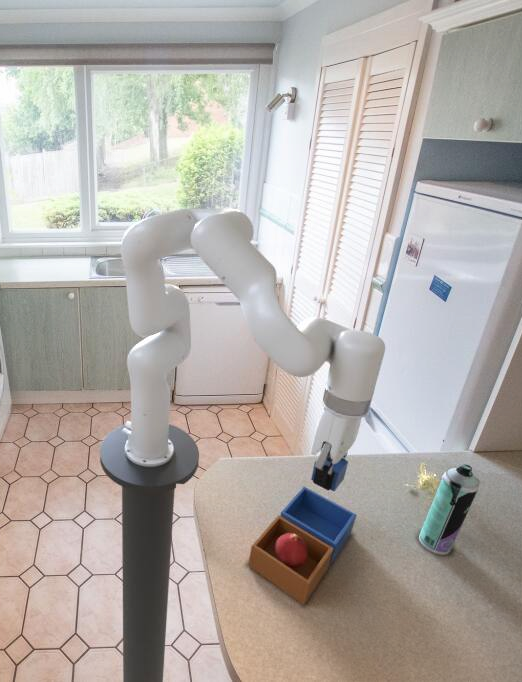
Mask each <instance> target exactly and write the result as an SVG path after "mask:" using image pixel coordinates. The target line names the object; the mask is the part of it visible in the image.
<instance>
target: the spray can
mask: <svg viewBox="0 0 522 682" xmlns="http://www.w3.org/2000/svg"><path fill="white" fill-rule="evenodd" d="M441 479H442V480H440V481H439V482H440V485H439V487H438V490H437V489H436V490H437V492H436V493H435V495H434V500H433V502H432V501H431V503H432V504H431V506H430V508H429V510H428V512H427V515H426V518H425V520H424V522H423V525H422V528H421V530H420V532H419V536H418V539H419V542H420V544H421V545H422V547H424V548H425V549H426V550H428V552H431V553H434V554H436V555H440V556H443V555H444V556H445V555H449V553H450V552H451V550H452V548H453V546H454V544H455V541H456V539H457V537H458V535H459V532H460V531H461V529H462V527H463V524H464V521H465V519H466V517H467V515H468V513H469V510H470V508H471V506H472V504H473V502H474V501H475V498H476V495H477V493H478V491H479V488H480V485H481V482H480V479H479V478H478V477H477V475H475V474H474V473H473V468H472V466H471V465H469V464H461V465H460V466H457V467H455V466H452V467H448V468H446V470H445V472H444V473H443V475H442V476H441Z"/></svg>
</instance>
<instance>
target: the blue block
mask: <svg viewBox="0 0 522 682" xmlns="http://www.w3.org/2000/svg"><path fill="white" fill-rule="evenodd" d="M329 456H330V455H329ZM344 459H345V458H344ZM344 459H341V460H340V461H339V462H338V463H336V464H335V467H334V470H333V473H334V477H333V481H332V485H331V489H330V490H329V491H332V492H335V491H336V490H337V489H338V488H339V486H340V485H341V484H342V482H343V481H344V480H345V476H346V472H347V468H348V465H349V460H347V459H346V460H344ZM316 462H317V459H316V460H315V461H314V465H313V468H312V474H311V478H310V480H311V481H313V479H314V474H315V470H316V468H315V464H316ZM330 464H331V462H329V461H326V465H328V466H329V467H330Z"/></svg>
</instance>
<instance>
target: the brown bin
mask: <svg viewBox="0 0 522 682" xmlns="http://www.w3.org/2000/svg"><path fill="white" fill-rule="evenodd" d="M286 533H294V534H297V535H298V536H299V537H301V538H302V539H303V541H304V542H305V544H306V546H307V551H308V555H307V560H306V562H305V563H304V564H303V565H301V566H299V567H296V568H291V567H288V566H286V565H285V564H283V563H282V562H280V561H279V560H278V558H277V556H276V553H275V545H276V541H277V539H278V538H279V537H280V536H282V535H284V534H286ZM333 549H334V548H332V547H330V546H329V545H327V544H326V543H324V542H322V541H321V540H319V539H317V538H316V537H314V536H312V535H311V534H309V533H307V532H306V531H304V530H302V529H301V528H299V527H297V526H296V525H294V524H292V523H291V522H289V521H287V520H286V519H284V518H282V517H281V516H280V515H279V514H278V515H277V516H276V517H275V518H274V519H273V521H271V523H270V524H269V525H268V526H267V527H266V528H265V529H264V531H263V532H262V533H261V534H260V535H259V536H258V538H257V539H256V540H255V541H254V542H253V543H252V545H251V547H250V552H249V553H250V555H249V558H248V559H249V560H248V565H247V566H248V567H250V568H251V569H253V570H254V571H255V572H257V573H258V574H260V575H261V576H262V577H264V578H265V579H266V580H268V581H269V582H271V583H272V584H273V585H274V586H276V587H278V588H279V589H281V590H282V591H283V592H284V593H286V594H287V595H289V596H290V597H291V598H293V599H295V600H296V601H297V602H299V603H300V604H302V606H304V605H305V604H306V603H307V601H308V600H309V598H310V597H311V595H312V593H313V592H314V591H315V589H316V587H317V586H318V584H319V583H320V582H321V580H322V578H323V577H324V575H325V574H326V573H327V571H328V570H329V567H330V565H329V563H330V560H331V556H332V553H333Z"/></svg>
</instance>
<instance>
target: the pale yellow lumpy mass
mask: <svg viewBox="0 0 522 682" xmlns="http://www.w3.org/2000/svg"><path fill="white" fill-rule="evenodd" d="M438 460H439V459H438V458H437V459H435V460H434V461H435V462H434V465H433V469H435V468H436V463H437V461H438ZM419 464H420V466H419V469H420V472H419V471H418V470H416V471H417V472H415V474H417V476H416V477H417V478H418V479H417V483H416V484H415V486H413V488H412V489H413V490H415V489H416V490H415V491H414V492H413V494H415V493H416V492H417V490H420V491H427V492H426V494H428V493H431V497H430V498H429V501H430V504H431V505H432V502H433V500H434V497H435V495H436V492H437V490H438V487H439V485H440V482H441V480H442V478H439V476H437V474H435V470H433V471H427V470H429V465H428V463H426V462H425V461H421V462H420V463H419ZM403 486H405V487H407V486H408V487H412V484H411V485H409V484H405V483H404V484H403Z"/></svg>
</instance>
